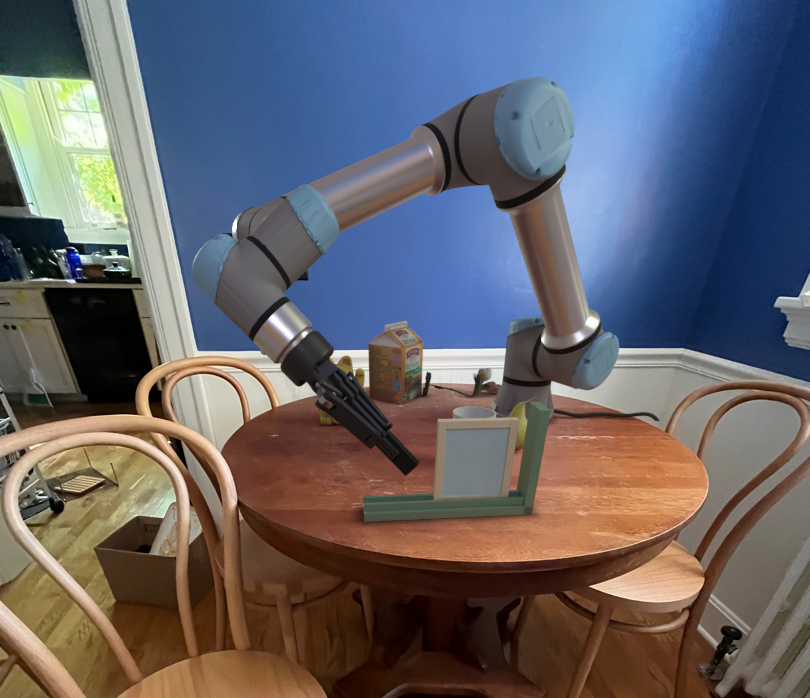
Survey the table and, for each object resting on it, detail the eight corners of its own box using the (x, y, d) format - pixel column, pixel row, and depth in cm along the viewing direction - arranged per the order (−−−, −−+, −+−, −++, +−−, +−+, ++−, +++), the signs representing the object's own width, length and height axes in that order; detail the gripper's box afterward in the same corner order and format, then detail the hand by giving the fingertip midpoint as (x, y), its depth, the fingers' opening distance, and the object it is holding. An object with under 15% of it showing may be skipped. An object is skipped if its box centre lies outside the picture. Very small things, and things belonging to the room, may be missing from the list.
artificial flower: (420, 395, 140) (425, 359, 137) (496, 406, 141) (502, 371, 138) (421, 395, 131) (427, 357, 129) (501, 407, 132) (509, 369, 129)
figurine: (317, 425, 112) (311, 358, 104) (321, 414, 119) (316, 351, 111) (365, 425, 113) (363, 359, 105) (366, 414, 120) (364, 351, 112)
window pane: (505, 497, 78) (516, 417, 71) (507, 501, 77) (519, 419, 70) (433, 500, 77) (437, 418, 70) (434, 504, 76) (438, 421, 69)
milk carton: (401, 403, 128) (402, 327, 118) (369, 397, 133) (367, 323, 123) (421, 395, 136) (423, 322, 126) (390, 389, 141) (390, 318, 130)
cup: (464, 472, 90) (468, 421, 85) (441, 458, 97) (444, 408, 91) (498, 465, 94) (505, 415, 88) (475, 451, 100) (479, 403, 94)
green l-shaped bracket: (523, 502, 81) (539, 401, 72) (532, 514, 77) (550, 410, 68) (363, 508, 78) (359, 404, 69) (364, 522, 74) (360, 414, 65)
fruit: (508, 440, 106) (516, 385, 99) (537, 450, 101) (547, 392, 95) (490, 448, 102) (496, 391, 95) (520, 458, 97) (529, 399, 91)
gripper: (296, 357, 73) (402, 466, 80) (261, 377, 62) (387, 502, 69) (327, 321, 70) (435, 438, 76) (296, 335, 59) (425, 471, 66)
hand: (412, 468), depth 73 cm, fingers closed
